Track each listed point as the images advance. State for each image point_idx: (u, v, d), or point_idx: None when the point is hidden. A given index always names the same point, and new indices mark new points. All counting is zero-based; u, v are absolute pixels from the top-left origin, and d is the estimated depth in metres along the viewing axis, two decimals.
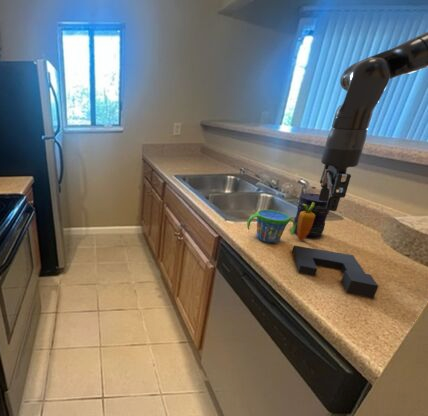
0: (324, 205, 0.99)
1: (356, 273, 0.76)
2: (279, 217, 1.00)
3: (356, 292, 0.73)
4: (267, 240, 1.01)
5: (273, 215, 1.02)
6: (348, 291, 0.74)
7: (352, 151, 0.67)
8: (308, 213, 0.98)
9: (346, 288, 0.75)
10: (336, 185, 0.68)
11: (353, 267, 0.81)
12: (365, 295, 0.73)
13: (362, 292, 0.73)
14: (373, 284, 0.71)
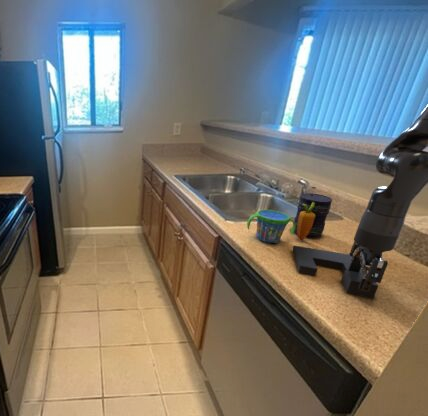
0: (324, 205, 0.99)
1: (356, 273, 0.76)
2: (279, 217, 1.00)
3: (356, 292, 0.73)
4: (267, 240, 1.01)
5: (273, 215, 1.02)
6: (348, 291, 0.74)
7: (389, 237, 0.66)
8: (308, 213, 0.98)
9: (346, 288, 0.75)
10: (372, 270, 0.67)
11: None
12: (365, 295, 0.73)
13: (362, 292, 0.73)
14: (373, 284, 0.71)
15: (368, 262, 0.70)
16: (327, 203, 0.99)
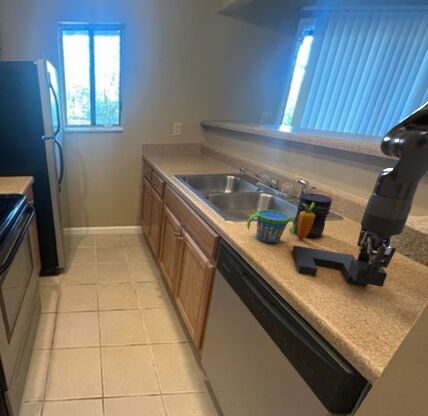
0: (324, 205, 0.99)
1: (364, 262, 0.74)
2: (279, 217, 1.00)
3: (364, 281, 0.72)
4: (267, 240, 1.01)
5: (273, 215, 1.02)
6: (356, 280, 0.72)
7: (398, 220, 0.64)
8: (308, 213, 0.98)
9: (354, 277, 0.73)
10: (378, 257, 0.66)
11: None
12: (373, 283, 0.71)
13: (370, 281, 0.71)
14: (382, 272, 0.70)
15: (376, 247, 0.68)
16: (327, 203, 0.99)
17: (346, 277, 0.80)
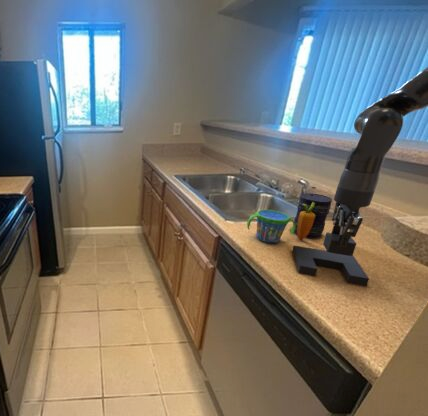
0: (324, 205, 0.99)
1: (337, 234, 0.81)
2: (279, 217, 1.00)
3: (336, 251, 0.78)
4: (267, 240, 1.01)
5: (273, 215, 1.02)
6: (329, 250, 0.79)
7: (365, 192, 0.70)
8: (308, 213, 0.98)
9: (327, 248, 0.79)
10: (347, 227, 0.72)
11: (353, 267, 0.81)
12: (344, 253, 0.77)
13: (342, 251, 0.77)
14: (351, 242, 0.76)
15: (347, 219, 0.74)
16: (327, 203, 0.99)
17: (346, 277, 0.80)
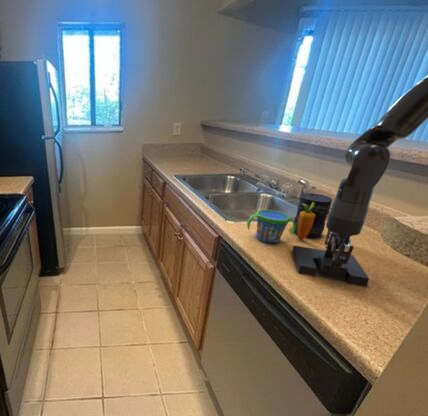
0: (324, 205, 0.99)
1: (330, 258, 0.83)
2: (279, 217, 1.00)
3: (328, 275, 0.81)
4: (267, 240, 1.01)
5: (273, 215, 1.02)
6: (321, 274, 0.82)
7: (355, 222, 0.73)
8: (308, 213, 0.98)
9: (320, 272, 0.82)
10: (339, 254, 0.74)
11: (353, 267, 0.81)
12: (336, 277, 0.80)
13: (333, 275, 0.80)
14: (343, 267, 0.79)
15: (338, 246, 0.77)
16: (327, 203, 0.99)
17: (346, 277, 0.80)
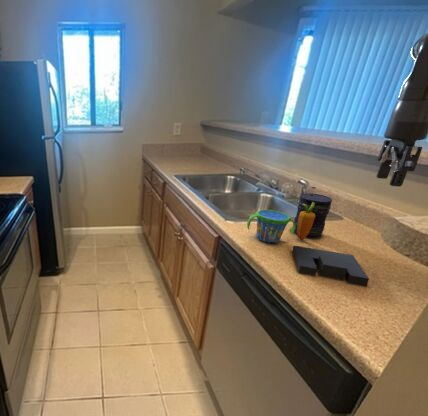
0: (324, 205, 0.99)
1: (330, 258, 0.83)
2: (279, 217, 1.00)
3: (328, 275, 0.81)
4: (267, 240, 1.01)
5: (273, 215, 1.02)
6: (321, 274, 0.82)
7: (423, 123, 0.65)
8: (308, 213, 0.98)
9: (320, 272, 0.82)
10: (405, 158, 0.66)
11: (353, 267, 0.81)
12: (336, 277, 0.80)
13: (333, 275, 0.80)
14: (343, 267, 0.79)
15: (400, 155, 0.69)
16: (327, 203, 0.99)
17: (346, 277, 0.80)
